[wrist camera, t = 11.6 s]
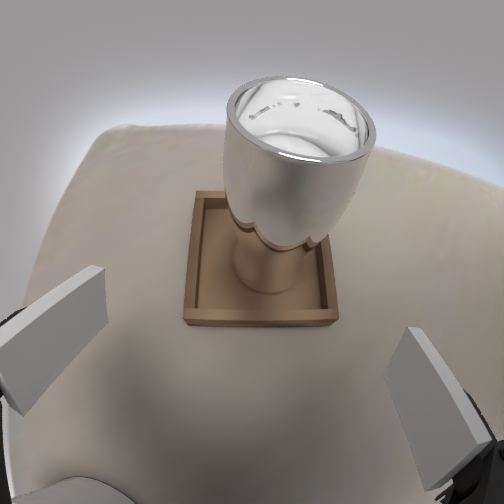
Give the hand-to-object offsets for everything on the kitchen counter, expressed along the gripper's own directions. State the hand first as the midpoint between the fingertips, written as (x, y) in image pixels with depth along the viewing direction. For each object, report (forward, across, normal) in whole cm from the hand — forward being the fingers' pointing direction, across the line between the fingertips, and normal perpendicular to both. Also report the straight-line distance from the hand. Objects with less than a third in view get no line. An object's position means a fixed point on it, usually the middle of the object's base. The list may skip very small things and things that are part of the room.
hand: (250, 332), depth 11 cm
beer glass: (+14, -1, +2) cm, 14 cm away
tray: (+14, 0, +2) cm, 14 cm away
